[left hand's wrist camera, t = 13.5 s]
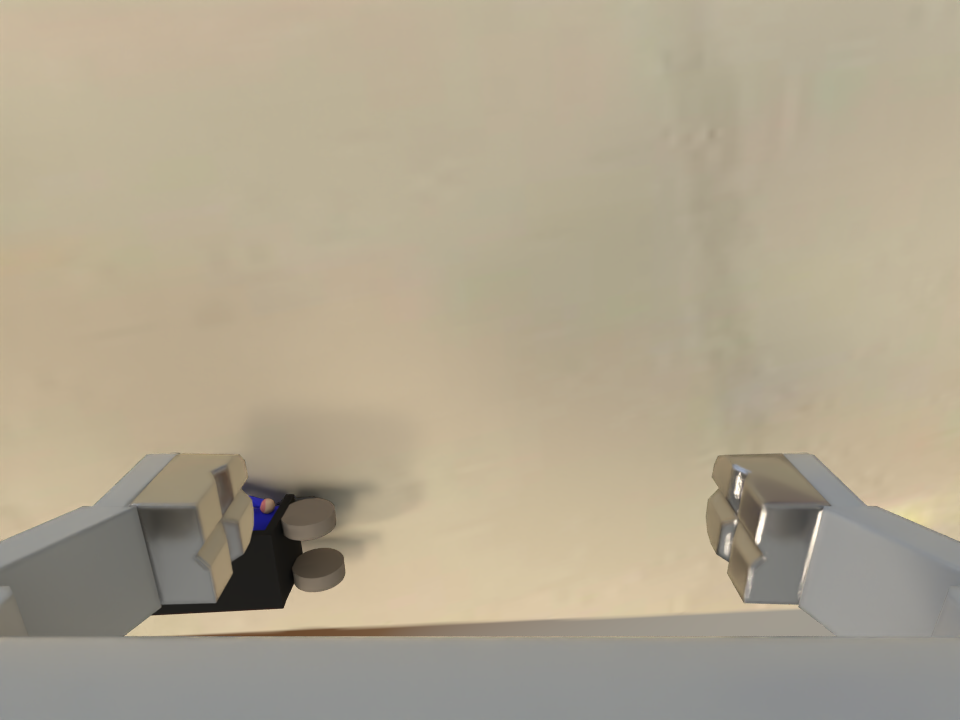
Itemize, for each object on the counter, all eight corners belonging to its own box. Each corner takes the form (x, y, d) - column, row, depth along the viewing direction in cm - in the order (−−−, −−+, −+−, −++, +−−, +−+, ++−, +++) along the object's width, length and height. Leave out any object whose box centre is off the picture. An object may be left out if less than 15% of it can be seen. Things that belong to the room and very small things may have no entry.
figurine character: (341, 463, 45) (136, 482, 44) (329, 525, 38) (84, 550, 37) (352, 535, 47) (158, 556, 46) (342, 605, 40) (113, 632, 39)
